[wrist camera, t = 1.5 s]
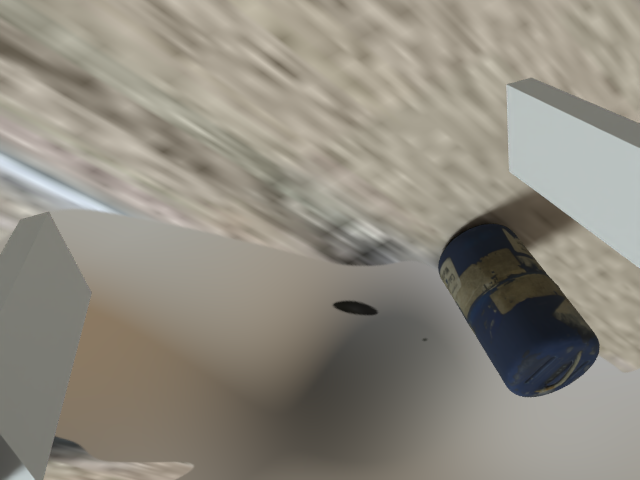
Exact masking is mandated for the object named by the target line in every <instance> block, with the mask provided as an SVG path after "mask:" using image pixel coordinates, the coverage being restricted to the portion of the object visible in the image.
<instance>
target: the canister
mask: <svg viewBox="0 0 640 480" xmlns="http://www.w3.org/2000/svg"><path fill="white" fill-rule="evenodd" d="M438 269H439V274H440V277H441V279H442V281H443V282H444V284H445V286H446V287H447V289H448V290H449V292H450V294H451V295H452V297H453V299H454V300H455V302H456V303H457V305H458V307H459V309H460V310H461V312H462V314H463V316H464V317H465V319H466V321H467V323H468V324H469V326H470V327H471V329H472V330H473V332H474V334H475V335H476V337H477V339H478V340H479V342H480V343H481V345H482V347H483V348H484V350H485V351H486V353H487V355H488V357H489V358H490V360H491V362H492V363H493V365H494V367H495V368H496V370H497V371H498V373H499V375H500V376H501V378H502V380H503V381H504V383H505V385H506V386H507V387H508V389H509V390H510V391H512V392H513V393H514V394H516V395H519V396H523V397H537V396H542V395H546V394H549V393H552V392H554V391H557V390H559V389H561V388H563V387H565V386H567V385H569V384H570V383H572V382H573V381H575V380H576V379H578V378H579V377H580V376H582V375H583V374H584V373H585V372H586V371H587V370H588V369H589V368H590V367H591V366H592V364H593V363H594V362H595V360H596V358H597V356H598V354H599V341H598V338H597V337H596V335H595V333H594V332H593V331H592V329H591V328H590V327H589V325H588V324H587V323H586V322H585V320H584V319H583V318H582V317H581V315H580V314H579V313H578V311H577V310H576V309H575V308H574V306H573V305H572V304H571V303H570V301H569V300H568V299H567V298H566V296H565V295H564V294H563V292H562V291H561V290H560V288H559V286H558V285H557V284H555V282H554V281H553V280H552V279H551V278H550V277H549V276H548V275H547V274H546V272H545V271H544V270H543V268H542V267H541V266H540V265H539V263H538V262H537V261H536V260H535V258H534V257H533V256H532V255H531V253H530V252H529V251H528V250H527V249H526V247H525V246H524V245H523V243H522V242H521V241H520V240H519V239H518V237H517V236H516V235H515V234H514V233H513V232H512V231H511V230H510V229H509V228H507V227H505V226H502V225H498V224H485V225H480V226H476V227H474V228H471V229H469V230H467V231H465V232H463V233H462V234H460V235H459V236H457V237H456V238H455V239H454V240H452V241H451V242H450V244H449V245H448V246H447V247H446V248H445V250H444V251H443V253H442V255H441V257H440V260H439V267H438Z"/></svg>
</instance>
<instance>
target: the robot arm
mask: <svg viewBox="0 0 640 480" xmlns="http://www.w3.org/2000/svg"><path fill="white" fill-rule="evenodd" d="M507 118H508V151H509V172H511V173H512V174H513V175H515V176H516V177H518V178H519V179H520V180H522V181H523V182H524V183H526V184H527V185H528V186H530V187H531V188H532V189H534V190H535V191H536V192H538V193H539V194H540V195H542V196H543V197H544V198H546V199H547V200H548V201H550V202H551V203H553V204H554V205H555V206H557V207H558V208H559V209H561V210H562V211H563V212H565V213H566V214H567V215H569V216H570V217H571V218H573V219H574V220H575V221H577V222H578V223H579V224H581V225H582V226H583V227H585V228H586V229H587V230H589V231H590V232H592V233H593V234H594V235H596V236H597V237H598V238H600V239H601V240H602V241H604V242H605V243H606V244H608V245H609V246H610V247H612V248H613V249H614V250H616V251H617V252H618V253H620V254H621V255H622V256H624V257H625V258H627V259H628V260H629V261H631V262H632V263H633V264H635V265H636V266H637V267H639V268H640V123H637V122H635V121H633V120H630V119H628V118H626V117H623V116H621V115H618V114H616V113H614V112H611V111H609V110H607V109H604V108H602V107H600V106H597V105H595V104H593V103H590V102H588V101H585V100H583V99H581V98H578V97H576V96H574V95H571V94H569V93H567V92H564V91H562V90H560V89H557V88H555V87H552V86H550V85H548V84H545V83H543V82H541V81H538V80H536V79H534V78H528V79H525V80H521V81H517V82H514V83H510V84H507ZM91 294H92V292H91V290H90V288H89V286H88V285H87V283H86V281H85V279H84V277H83V275H82V273H81V272H80V269H79V268H78V266H77V264H76V262H75V260H74V258H73V256H72V254H71V252H70V251H69V249H68V247H67V245H66V243H65V241H64V239H63V237H62V236H61V234H60V232H59V230H58V228H57V226H56V224H55V222H54V221H53V219H52V217H51V215H50V213H49V212H46V213H43V214H39V215H35V216H32V217H28V218H25V219H21V220H20V221H19V223H18V225H17V226H16V228H15V230H14V231H13V233H12V235H11V237H10V238H9V240H8V242H7V244H6V245H5V248H4V249H3V251H2V253H1V254H0V480H43V478H44V474H45V471H46V467H47V463H48V459H49V455H50V451H51V448H52V444H53V440H54V436H55V432H56V428H57V424H58V421H59V416H60V413H61V409H62V405H63V401H64V398H65V393H66V390H67V386H68V382H69V378H70V374H71V371H72V367H73V363H74V359H75V355H76V351H77V348H78V343H79V340H80V336H81V332H82V328H83V324H84V321H85V317H86V313H87V309H88V305H89V301H90V297H91Z"/></svg>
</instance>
